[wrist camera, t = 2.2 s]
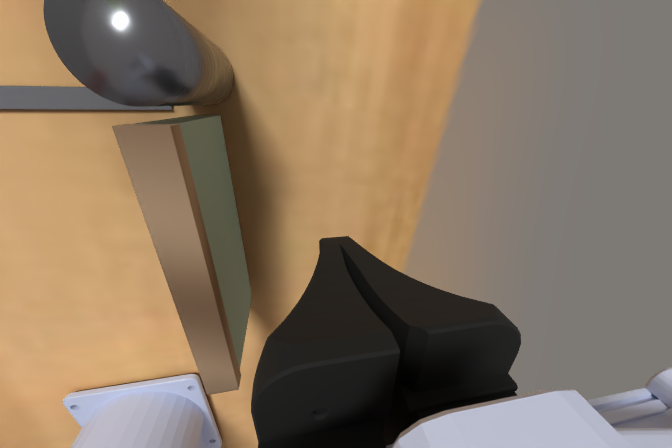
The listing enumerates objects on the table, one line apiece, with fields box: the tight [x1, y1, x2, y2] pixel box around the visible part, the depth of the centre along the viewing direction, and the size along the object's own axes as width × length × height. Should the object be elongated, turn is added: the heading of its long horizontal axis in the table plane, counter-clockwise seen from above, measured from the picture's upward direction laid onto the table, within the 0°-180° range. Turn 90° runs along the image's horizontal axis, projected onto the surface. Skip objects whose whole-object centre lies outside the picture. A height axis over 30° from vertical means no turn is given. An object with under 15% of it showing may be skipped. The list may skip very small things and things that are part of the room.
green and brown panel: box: [112, 115, 252, 395], centre depth 10 cm, size 10×1×6 cm, turn 0°
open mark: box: [0, 86, 173, 110], centre depth 10 cm, size 1×10×1 cm, turn 89°
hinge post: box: [44, 0, 234, 107], centre depth 8 cm, size 2×2×6 cm
